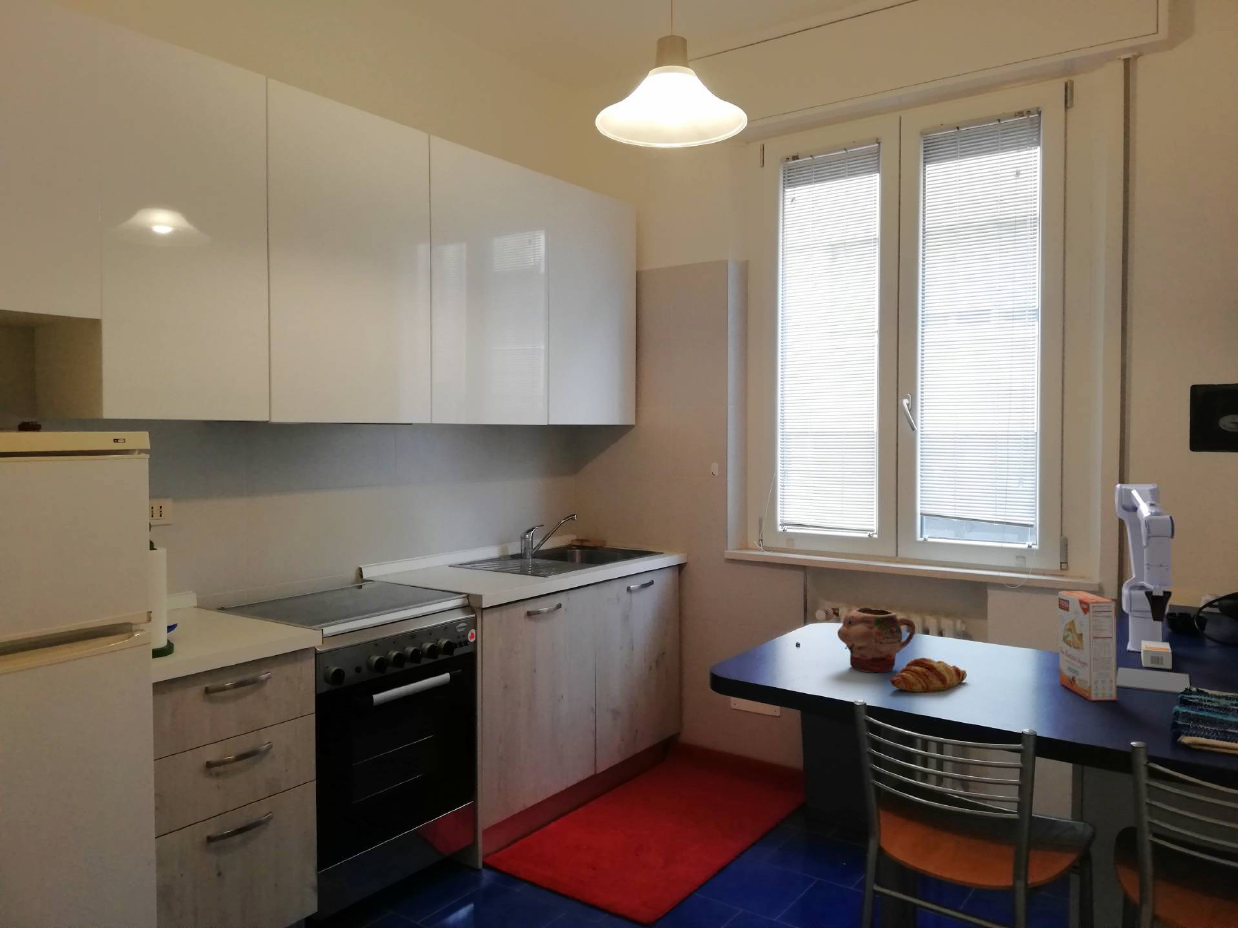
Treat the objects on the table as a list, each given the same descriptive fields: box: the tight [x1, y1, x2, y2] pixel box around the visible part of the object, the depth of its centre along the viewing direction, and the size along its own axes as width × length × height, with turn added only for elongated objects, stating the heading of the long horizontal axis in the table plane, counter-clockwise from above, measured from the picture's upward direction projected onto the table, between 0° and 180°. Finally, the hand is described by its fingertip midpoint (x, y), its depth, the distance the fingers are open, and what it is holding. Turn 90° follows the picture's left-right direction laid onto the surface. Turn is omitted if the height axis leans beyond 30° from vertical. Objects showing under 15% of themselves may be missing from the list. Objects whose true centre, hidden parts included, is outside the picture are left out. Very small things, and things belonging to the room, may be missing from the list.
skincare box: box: [1140, 640, 1173, 670], centre depth 220 cm, size 6×4×12 cm
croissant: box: [890, 657, 968, 693], centre depth 201 cm, size 21×10×8 cm, turn 116°
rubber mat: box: [1116, 667, 1191, 695], centre depth 203 cm, size 18×14×1 cm
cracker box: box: [1058, 590, 1118, 702], centre depth 194 cm, size 14×6×21 cm, turn 178°
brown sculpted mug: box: [837, 607, 916, 673], centre depth 218 cm, size 20×12×14 cm, turn 108°
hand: (1158, 620), depth 219 cm, fingers closed
